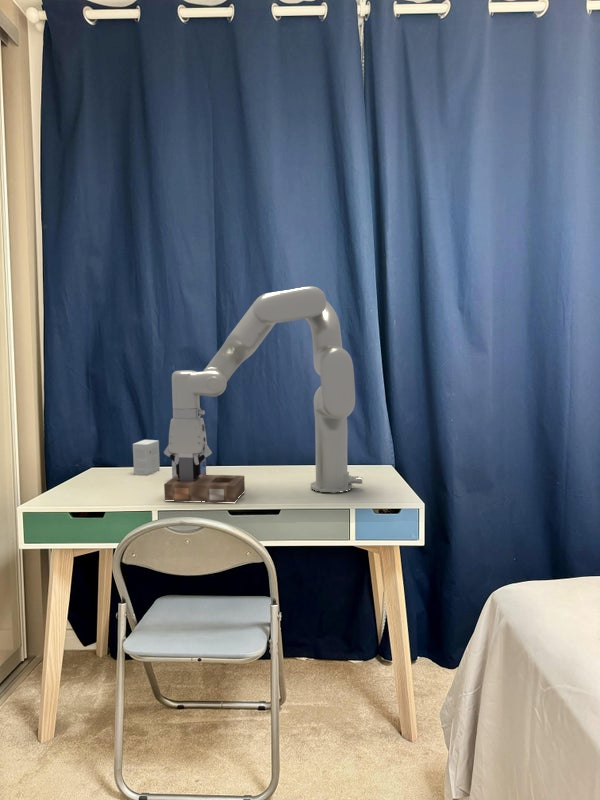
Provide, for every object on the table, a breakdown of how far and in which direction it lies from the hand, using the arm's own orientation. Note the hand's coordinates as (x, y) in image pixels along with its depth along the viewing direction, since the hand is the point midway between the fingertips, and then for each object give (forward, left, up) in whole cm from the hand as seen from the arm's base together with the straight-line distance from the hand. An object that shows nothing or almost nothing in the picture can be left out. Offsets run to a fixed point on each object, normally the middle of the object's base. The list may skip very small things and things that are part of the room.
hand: (188, 476), depth 172 cm
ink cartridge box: (+6, -19, -6) cm, 21 cm away
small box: (+24, -28, -6) cm, 37 cm away
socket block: (-5, 0, -6) cm, 8 cm away
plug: (0, 0, -3) cm, 3 cm away
